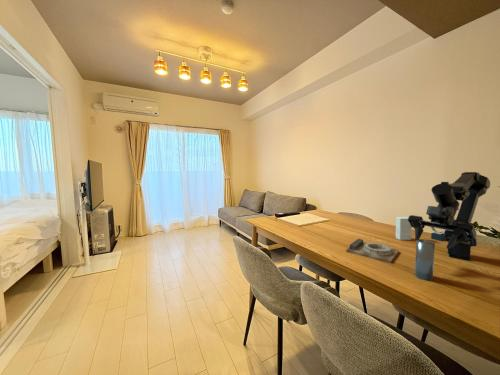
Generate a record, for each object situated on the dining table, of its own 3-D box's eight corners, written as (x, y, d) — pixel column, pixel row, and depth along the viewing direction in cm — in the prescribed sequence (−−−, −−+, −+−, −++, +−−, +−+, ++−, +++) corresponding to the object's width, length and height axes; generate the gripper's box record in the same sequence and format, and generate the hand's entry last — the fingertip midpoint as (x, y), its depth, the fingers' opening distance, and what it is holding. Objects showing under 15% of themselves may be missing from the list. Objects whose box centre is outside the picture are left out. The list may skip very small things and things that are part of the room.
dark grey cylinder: (433, 276, 74) (435, 241, 73) (432, 282, 71) (434, 245, 70) (415, 272, 78) (417, 238, 77) (413, 277, 74) (415, 242, 73)
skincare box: (406, 237, 116) (407, 216, 115) (411, 240, 112) (412, 218, 111) (395, 237, 117) (395, 216, 116) (399, 240, 112) (400, 218, 111)
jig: (398, 251, 97) (399, 245, 97) (390, 263, 86) (391, 256, 85) (357, 242, 110) (357, 237, 109) (346, 251, 98) (346, 245, 98)
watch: (433, 236, 117) (434, 217, 116) (451, 240, 110) (452, 220, 109) (427, 237, 115) (427, 218, 115) (444, 242, 108) (445, 221, 107)
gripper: (410, 195, 85) (395, 225, 81) (475, 201, 69) (460, 239, 64) (419, 212, 89) (405, 241, 85) (482, 221, 73) (468, 258, 69)
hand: (431, 244), depth 76 cm, fingers open, 9 cm apart
